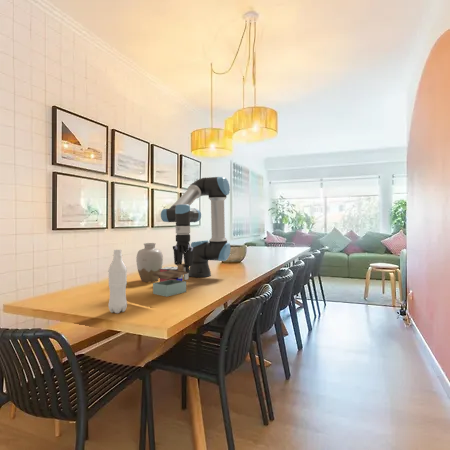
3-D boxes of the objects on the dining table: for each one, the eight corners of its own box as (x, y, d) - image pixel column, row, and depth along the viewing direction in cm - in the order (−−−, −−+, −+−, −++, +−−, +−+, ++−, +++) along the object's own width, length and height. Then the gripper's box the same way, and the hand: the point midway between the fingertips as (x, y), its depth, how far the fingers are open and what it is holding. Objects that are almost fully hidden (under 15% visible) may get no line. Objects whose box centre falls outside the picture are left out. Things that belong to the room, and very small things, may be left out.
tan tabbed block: (179, 272, 176) (179, 262, 176) (194, 274, 169) (193, 264, 169) (152, 278, 161) (152, 267, 161) (167, 280, 155) (167, 269, 154)
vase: (161, 277, 210) (161, 242, 209) (164, 282, 195) (164, 243, 194) (135, 279, 205) (135, 242, 204) (137, 283, 190) (137, 244, 189)
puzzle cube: (176, 287, 180) (176, 269, 179) (159, 286, 182) (159, 268, 181) (182, 284, 189) (182, 266, 189) (166, 283, 191) (166, 266, 191)
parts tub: (172, 290, 171) (172, 279, 171) (186, 293, 165) (186, 281, 165) (153, 295, 161) (153, 283, 161) (166, 298, 155) (166, 285, 155)
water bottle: (104, 313, 130) (104, 250, 130) (116, 308, 137) (116, 249, 137) (119, 315, 128) (118, 251, 127) (130, 310, 134) (130, 249, 134)
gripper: (166, 233, 172) (167, 278, 173) (189, 235, 162) (189, 281, 163) (177, 233, 178) (177, 276, 179) (199, 234, 168) (199, 279, 169)
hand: (183, 278), depth 171 cm, fingers closed on tan tabbed block, 3 cm apart
